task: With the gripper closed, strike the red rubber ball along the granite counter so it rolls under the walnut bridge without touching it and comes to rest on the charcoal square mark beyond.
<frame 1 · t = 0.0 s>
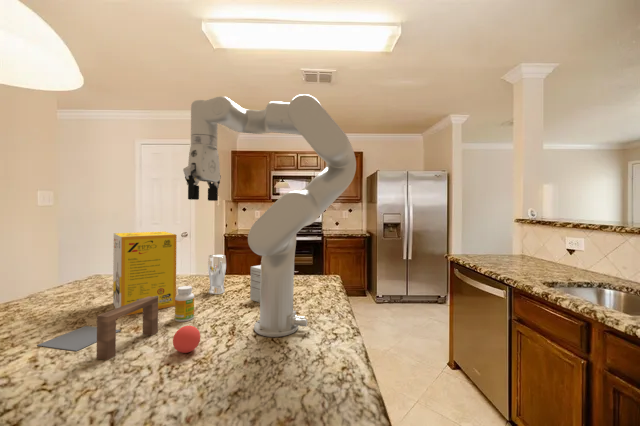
hand: (203, 200, 88), 37 cm above the countertop, tool pointing down, fingers open, 9 cm apart
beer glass: (216, 292, 119), on the countertop
supplement bottle: (184, 319, 90), on the countertop
bridge: (130, 344, 73), on the countertop
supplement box: (263, 300, 110), on the countertop
ball: (186, 339, 70), on the countertop
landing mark: (81, 337, 76), on the countertop
packaging box: (144, 305, 102), on the countertop
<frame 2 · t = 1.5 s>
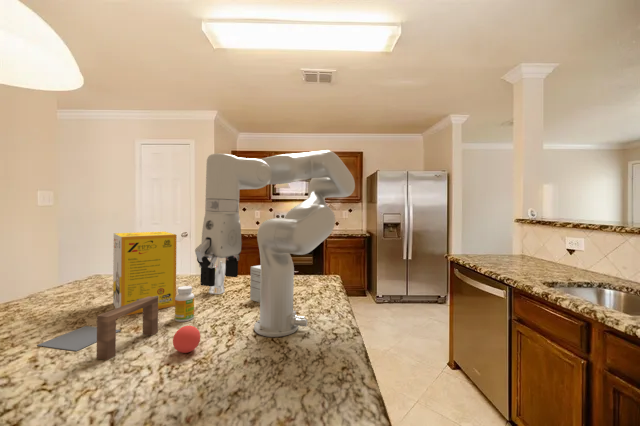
hand: (220, 280, 68), 17 cm above the countertop, tool pointing down, fingers open, 9 cm apart
nothing on the countertop moved.
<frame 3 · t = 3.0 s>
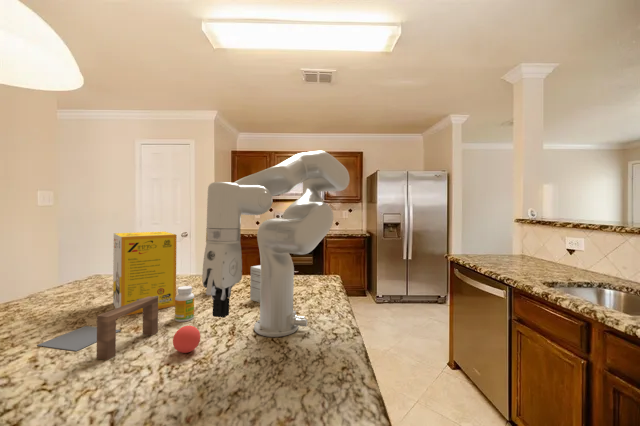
hand: (220, 315, 67), 10 cm above the countertop, tool pointing down, fingers closed
nothing on the countertop moved.
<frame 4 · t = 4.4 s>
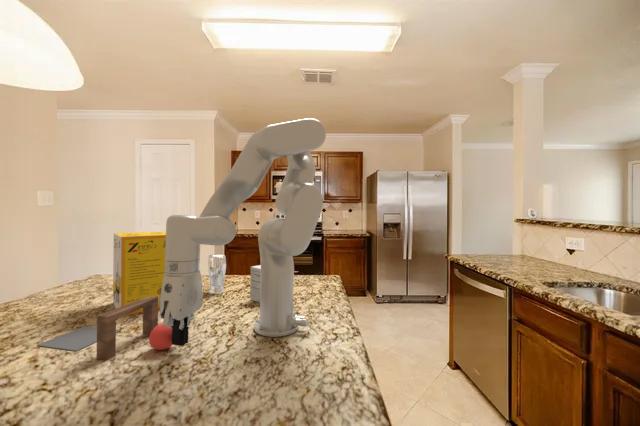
hand: (179, 343, 69), 2 cm above the countertop, tool pointing down, fingers closed
ball: (163, 336, 71), on the countertop
everything else where it was.
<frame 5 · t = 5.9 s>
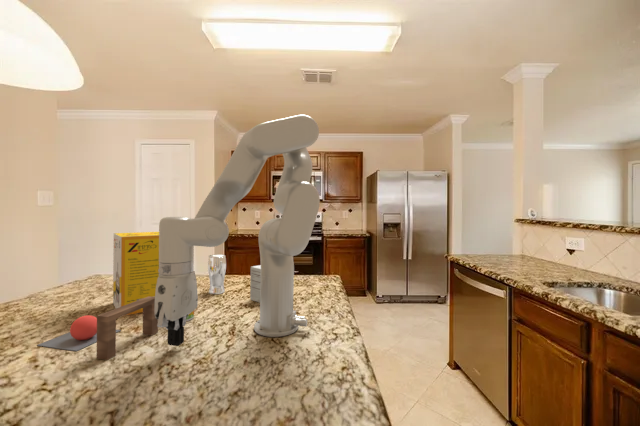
hand: (175, 343, 70), 2 cm above the countertop, tool pointing down, fingers closed
ball: (85, 327, 75), on the countertop
everything else where it was.
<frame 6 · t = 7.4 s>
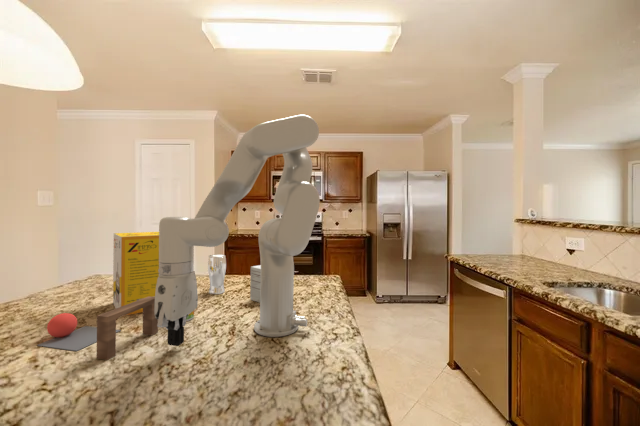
hand: (175, 343, 70), 2 cm above the countertop, tool pointing down, fingers closed
ball: (62, 325, 76), on the countertop
everything else where it was.
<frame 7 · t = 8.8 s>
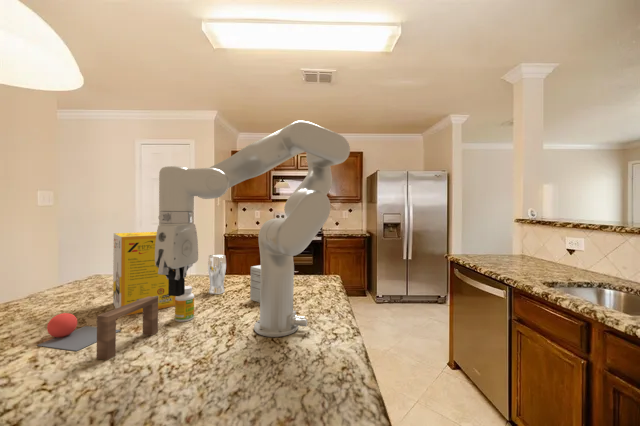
hand: (176, 294, 70), 13 cm above the countertop, tool pointing down, fingers closed
nothing on the countertop moved.
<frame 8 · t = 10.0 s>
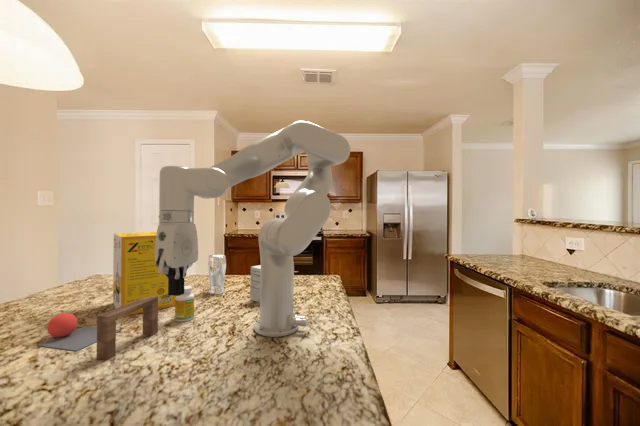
hand: (176, 294, 70), 14 cm above the countertop, tool pointing down, fingers closed
nothing on the countertop moved.
at the end: ball 5.6 cm from the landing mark (horizontally); ball never touched bridge; ball at rest at the end (0.0 cm/s) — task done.
